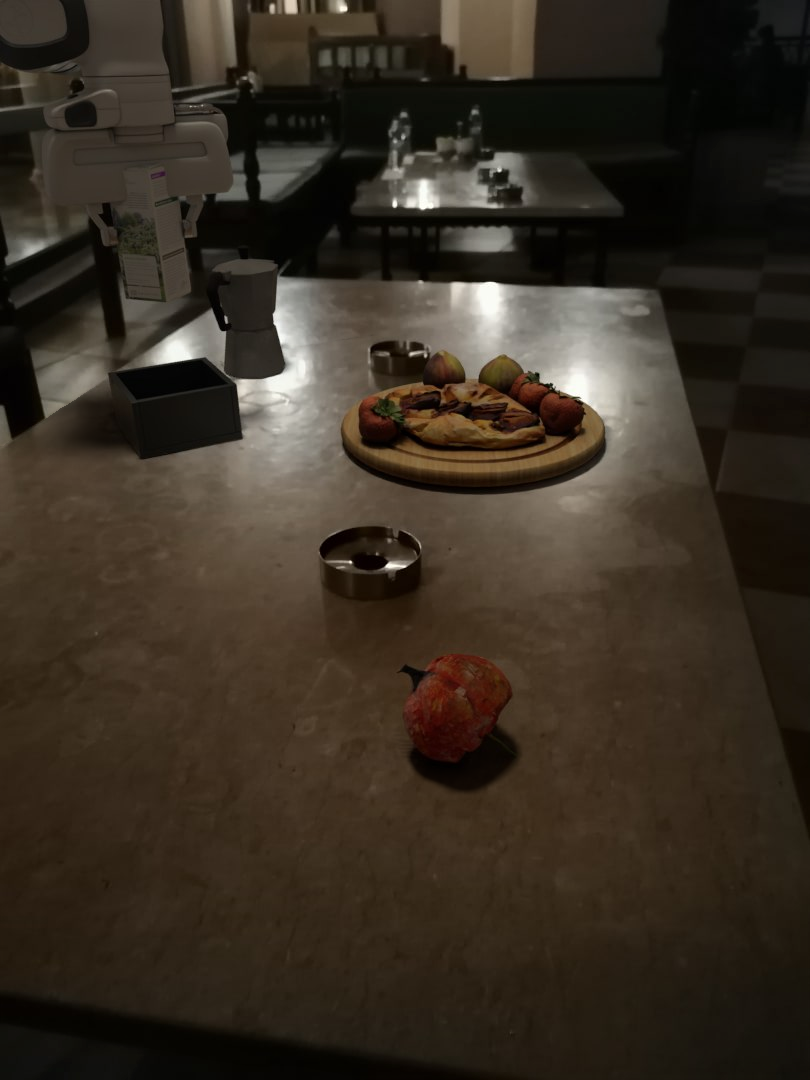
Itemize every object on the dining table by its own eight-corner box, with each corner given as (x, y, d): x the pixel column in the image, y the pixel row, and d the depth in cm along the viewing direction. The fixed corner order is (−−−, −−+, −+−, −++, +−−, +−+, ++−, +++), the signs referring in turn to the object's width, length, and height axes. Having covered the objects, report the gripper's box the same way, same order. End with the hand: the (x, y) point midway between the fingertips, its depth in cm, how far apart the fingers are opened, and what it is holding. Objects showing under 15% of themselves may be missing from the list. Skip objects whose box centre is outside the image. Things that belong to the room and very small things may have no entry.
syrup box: (193, 292, 108) (177, 160, 101) (166, 304, 103) (147, 166, 96) (151, 288, 109) (133, 159, 102) (123, 300, 104) (101, 165, 97)
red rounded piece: (505, 739, 66) (403, 649, 66) (567, 699, 61) (457, 601, 61) (465, 815, 61) (354, 718, 61) (529, 778, 56) (408, 671, 56)
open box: (140, 459, 107) (131, 403, 103) (117, 425, 117) (107, 372, 113) (242, 438, 112) (236, 384, 109) (211, 407, 122) (205, 356, 118)
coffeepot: (254, 353, 143) (243, 234, 134) (305, 361, 139) (297, 239, 130) (192, 383, 131) (175, 254, 122) (246, 392, 127) (233, 260, 118)
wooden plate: (369, 509, 95) (366, 435, 91) (323, 405, 122) (319, 345, 118) (651, 475, 101) (660, 405, 97) (547, 383, 128) (550, 325, 124)
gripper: (216, 101, 103) (229, 227, 110) (27, 108, 95) (53, 245, 101) (234, 103, 98) (246, 236, 105) (36, 112, 90) (63, 255, 96)
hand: (150, 240), depth 103 cm, fingers closed on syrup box, 7 cm apart
